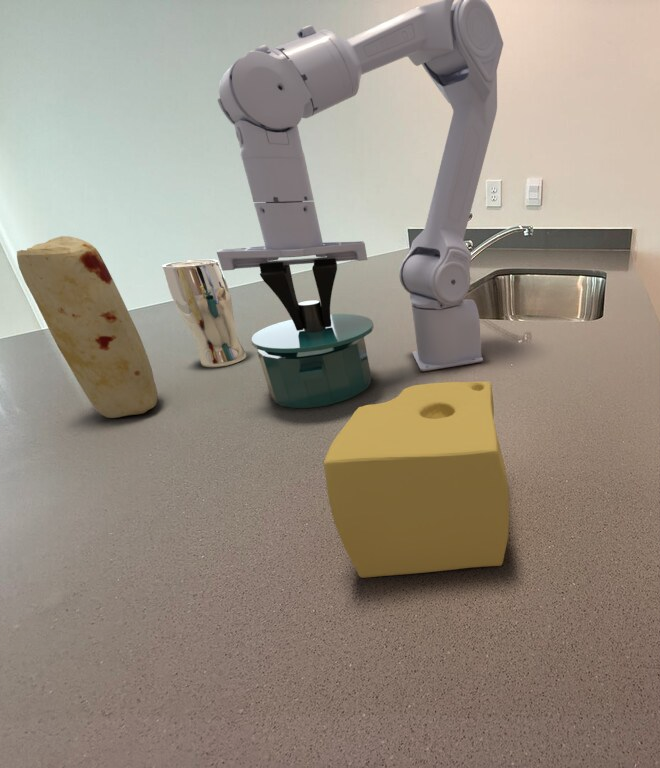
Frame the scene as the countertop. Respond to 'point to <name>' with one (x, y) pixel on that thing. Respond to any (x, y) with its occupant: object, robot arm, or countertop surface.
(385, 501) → the cheese
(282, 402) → the pot
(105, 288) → the food model
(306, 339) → the lid
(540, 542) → the countertop surface
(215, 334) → the beer glass
